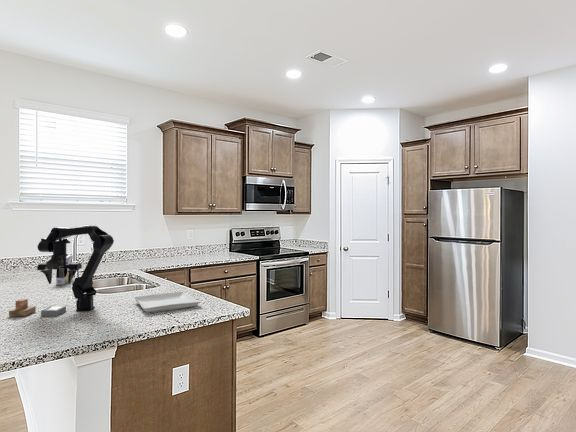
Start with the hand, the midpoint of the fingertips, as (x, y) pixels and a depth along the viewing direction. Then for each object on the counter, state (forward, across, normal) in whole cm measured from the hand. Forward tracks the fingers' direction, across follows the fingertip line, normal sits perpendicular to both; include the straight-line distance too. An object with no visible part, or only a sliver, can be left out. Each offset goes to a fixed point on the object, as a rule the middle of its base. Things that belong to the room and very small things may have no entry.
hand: (59, 283), depth 184 cm
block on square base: (+12, -11, -11) cm, 20 cm away
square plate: (+13, +51, +2) cm, 53 cm away
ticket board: (+12, +3, -11) cm, 17 cm away
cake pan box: (+12, -31, +67) cm, 75 cm away
